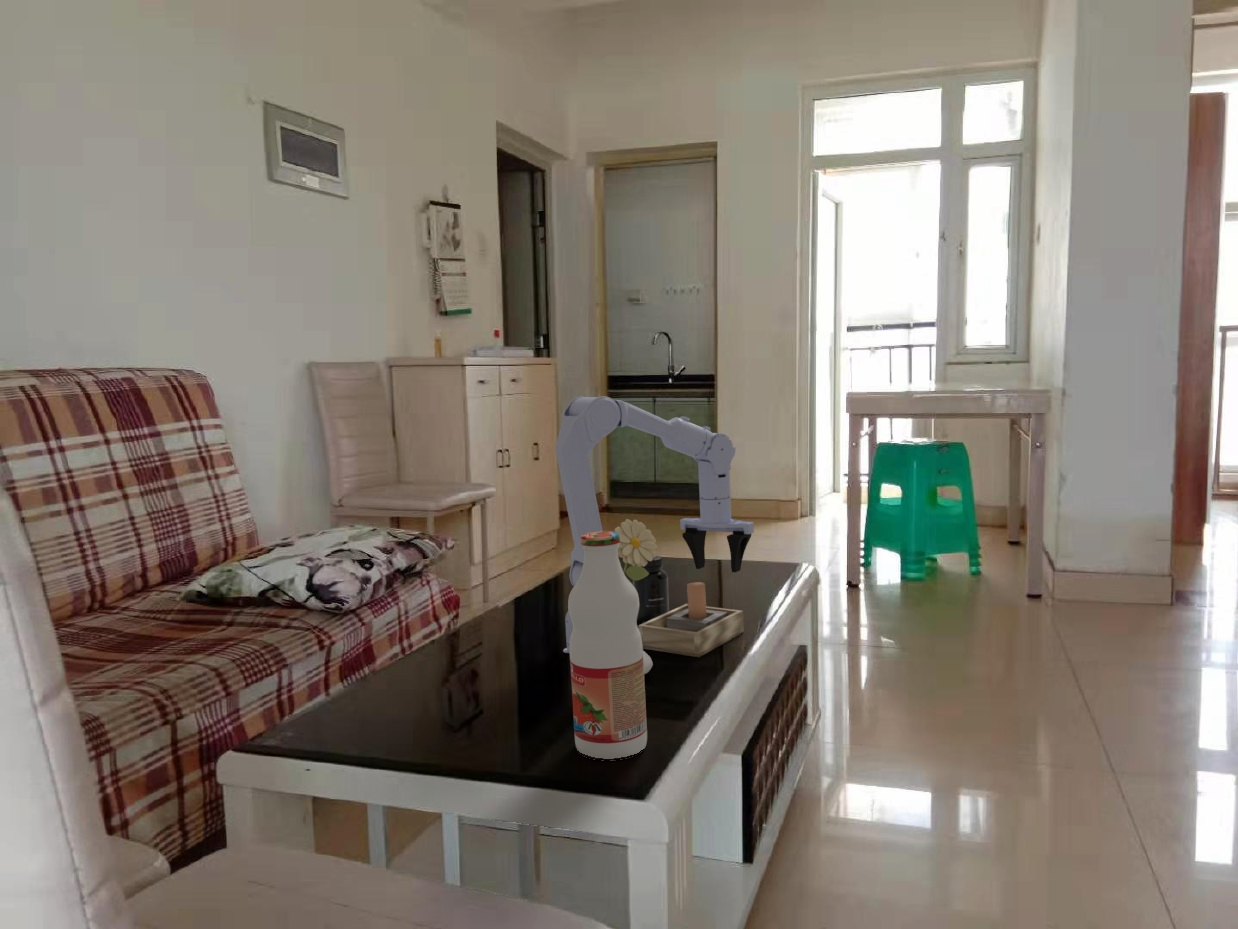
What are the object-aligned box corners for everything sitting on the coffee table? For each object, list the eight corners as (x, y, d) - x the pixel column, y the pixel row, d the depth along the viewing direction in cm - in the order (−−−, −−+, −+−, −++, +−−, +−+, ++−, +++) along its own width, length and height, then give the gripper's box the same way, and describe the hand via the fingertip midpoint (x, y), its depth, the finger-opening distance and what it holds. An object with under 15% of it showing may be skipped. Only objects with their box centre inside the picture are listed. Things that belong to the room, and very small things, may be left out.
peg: (702, 637, 165) (699, 587, 164) (686, 634, 167) (683, 585, 165) (710, 631, 167) (708, 583, 166) (695, 629, 169) (692, 581, 168)
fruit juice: (651, 759, 116) (640, 538, 113) (575, 765, 116) (562, 543, 113) (644, 730, 125) (634, 525, 123) (574, 735, 125) (562, 530, 122)
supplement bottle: (656, 624, 176) (653, 562, 175) (627, 620, 180) (624, 559, 179) (676, 616, 182) (673, 555, 180) (648, 612, 186) (645, 552, 184)
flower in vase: (591, 692, 141) (582, 530, 139) (575, 669, 152) (566, 519, 150) (672, 680, 145) (665, 522, 142) (651, 659, 156) (643, 511, 153)
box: (699, 657, 155) (698, 634, 155) (639, 647, 162) (638, 625, 162) (743, 632, 168) (742, 610, 168) (686, 624, 175) (685, 603, 175)
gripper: (760, 495, 171) (762, 568, 172) (692, 493, 179) (695, 562, 181) (742, 501, 165) (745, 576, 167) (673, 498, 174) (676, 569, 175)
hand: (718, 569), depth 173 cm, fingers open, 7 cm apart
